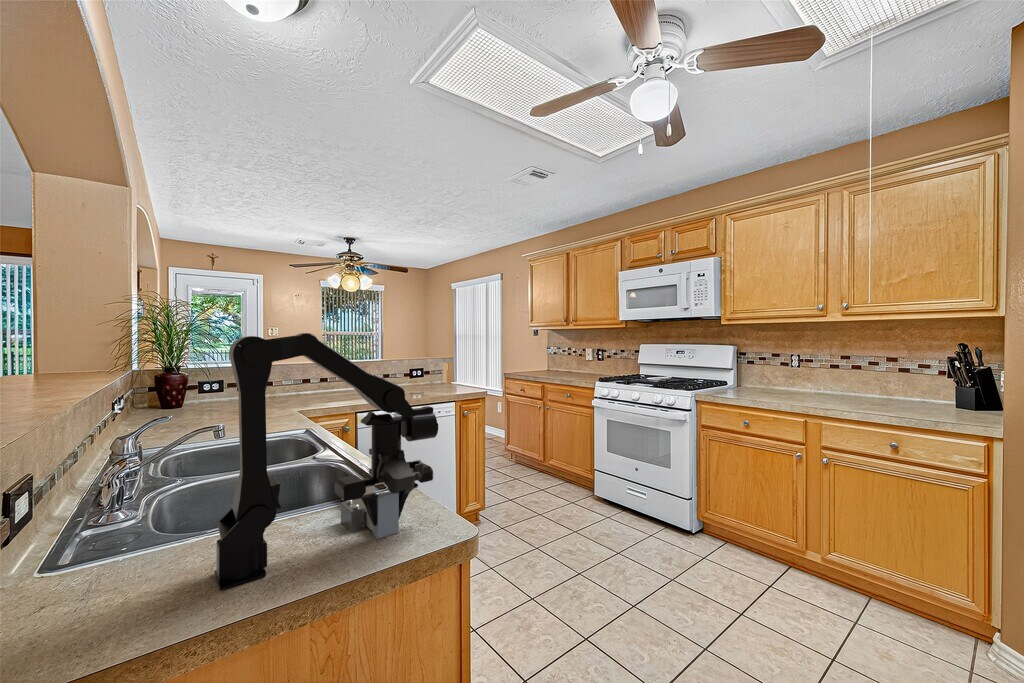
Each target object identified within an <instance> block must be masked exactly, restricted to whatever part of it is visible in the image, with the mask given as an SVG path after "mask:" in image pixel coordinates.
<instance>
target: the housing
mask: <svg viewBox="0 0 1024 683" xmlns="http://www.w3.org/2000/svg"><path fill="white" fill-rule="evenodd" d="M384 492H385V491H379V492H378V494H380V493H384ZM364 512H367V509H366V507H365V505H364V503H363V501H362V500H361V499H355V500H349V501H343V502H341V503H340V523H341V525H343V526H344V527H345V528H346V529H347V530H348V531H349V530H350V531H349V532H350V533H353V532H357V531H361V530H363V528H364V529H365V524H364ZM360 529H361V530H360ZM356 530H357V531H356Z"/></svg>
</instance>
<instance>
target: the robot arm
mask: <svg viewBox="0 0 1024 683" xmlns="http://www.w3.org/2000/svg"><path fill="white" fill-rule="evenodd" d="M228 355H229V360H230V365H231V368H232V373H233V376H234V380H235V384H236V387H237V392H238V429H239V430H238V433H239V434H238V435H239V436H238V437H239V440H238V441H239V475H238V478H237V481H236V485H235V489H234V494H233V501H232V506H231V508H230V509H229V510H228V511H227V512H226V513H225V514H224V515H223V516H222V517H221V518H220V519H219V520H218V521H217V526H218V527H217V528H218V533H219V536H220V539H216V570H214V573H213V574H214V577H215V581H216V583H217V586H218V589H219V590H221V591H222V590H226V589H229V588H231V587H235V586H238V585H241V584H244V583H247V582H251V581H255V580H257V579H261V578H264V577H266V575H267V571H266V569H265V568H267V566H268V543H267V540H266V539H265V538H264V533H265V531H266V529H267V528H268V527H270V525H271V524H272V523H273V522H274V521H275V520H276V517H277V509H278V510H280V509H282V506H281V505H280V502H279V501H280V500H279V497H280V489H281V484H280V483H279V481H278V480H277V478H276V477H275V475H271V476H269V474H268V464H267V463H268V460H267V455H268V454H267V416H266V415H267V414H266V413H267V412H266V411H267V408H266V407H267V406H266V405H267V404H266V402H267V401H266V390H267V386H268V383H269V379H270V376H271V372H272V367H273V362H281V361H284V360H285V361H286V360H288V359H294V358H298V357H304V358H306V359H307V360H309V361H310V362H311V363H314V364H315V365H317V366H318V367H320V368H322V369H323V370H325V371H326V372H328V373H330V374H331V375H332V376H334V377H335V378H338V379H339V380H341V381H343V382H344V383H346V384H347V385H348V386H350V387H351V388H353V389H354V390H355V391H356V393H358V394H359V395H360V397H362V399H363V400H365V402H367V403H368V404H369V405H370V406H371V407H372V408H374V409H377V410H379V411H382V412H384V413H383V414H382V413H381V414H375V412H373V411H371V410H370V411H368V412H367V414H366V415H364V417H363V418H362V419H361V420H360V423H361V424H363V425H365V426H367V427H369V426H371V448H368V454H369V455H371V462H370V463H371V467H370V468H369V469H368V475H370V476H371V477H367V478H363V479H362V478H361V477H360V476H358V475H356V474H354V475H347V476H344V477H343V476H342V477H339V478H337V479H336V481H335V483H334V485H335V489H334V491H333V492H334V494H336V496H337V497H338V496H339V497H340V498H342V499H343V500H342V501H344V502H347V501H349V500H353V499H357V498H360V499H361V500H362V501H363V503H364V505H365V507H366V509H367V512H368V514H369V517H370V519H371V521H372V524H373V525H374V526H376V525H377V506H376V500H377V498H378V495H377V494H378V493H376V492H375V488H376V487H379V486H384V485H385V486H386V488H387V489H388V491H390V492H392V493H399V519H400V517H401V515H402V511H403V510H404V506H405V504H406V501H407V499H408V496H409V494H410V493H411V492H412V491H413V490H414V489H417V488H418V487H419V484H418V483H417V482H416V481H418V482H419V483H422V484H423V483H427V482H431V481H433V480H434V469H433V468H432V466H430V465H428V464H426V463H424V462H422V461H421V459H417V460H412V461H406V458H405V456H406V455H405V451H404V449H402V438H405V440H406V441H407V442H415V441H420V440H421V441H422V440H427V439H434V438H436V437H437V435H438V433H439V423H438V420H437V419H438V418H437V416H436V414H435V412H434V406H433V407H432V406H429V405H425V406H422V407H417V408H416V407H415V408H413V407H412V406H411V404H410V403H409V402H408V400H407V399H406V394H405V393H406V392H405V390H404V388H403V387H402V386H400V384H397V383H394V382H393V381H390V380H388V379H385V378H383V377H380V376H377V375H375V374H372V373H370V372H368V371H366V370H365V369H363V368H362V367H361V366H359V365H357V364H356V363H354V362H353V361H352V360H350V359H349V358H347V357H345V356H344V355H343V354H341V353H339V352H338V351H336V350H335V349H334V348H332V347H330V346H328V345H327V344H325V343H324V342H323V341H321V340H320V339H319V338H318V337H317V336H316V335H315V334H313V333H308V332H301V333H298V334H295V335H291V336H290V335H288V336H283V337H274V338H269V339H265V338H262V337H260V336H255V335H254V336H253V335H247V336H242V337H240V338H237V339H236V340H235V341H233V342H232V343H231V345H230V347H229V350H228ZM393 413H394V414H396V415H400V416H392V415H391V414H393ZM339 497H338V498H339ZM340 498H339V499H340Z"/></svg>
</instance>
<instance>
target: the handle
mask: <svg viewBox="0 0 1024 683" xmlns="http://www.w3.org/2000/svg"><path fill="white" fill-rule="evenodd" d="M383 492H384V493H380V494H379V493H376V494H377V495H378V498H377V500H376V506H377V525H376V526H374V525H373V524H372V521H371V519H370V517H369V514H368V512H364V526H365V527H367V528H368V529H369V530H371V531H372V534H373V536H374V537H375V538H376V539H382V538H385V537H389V536H391V535H395V534H398V533H399V532H400V530H399V529H400V528H399V527H400V526H399V521H400V518H399V493H392V492H390V491H389V490H388V491H386V492H385V491H383Z"/></svg>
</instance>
